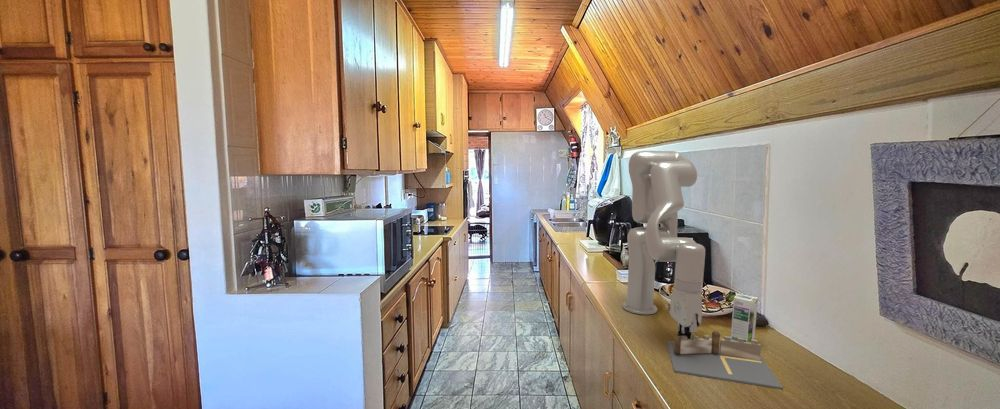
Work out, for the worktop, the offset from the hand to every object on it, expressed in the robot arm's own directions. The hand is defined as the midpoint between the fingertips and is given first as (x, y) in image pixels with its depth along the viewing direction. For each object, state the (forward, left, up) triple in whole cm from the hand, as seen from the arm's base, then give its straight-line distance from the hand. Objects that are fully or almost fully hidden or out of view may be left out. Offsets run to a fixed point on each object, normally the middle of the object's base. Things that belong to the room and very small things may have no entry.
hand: (683, 344), depth 116 cm
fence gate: (+2, +2, -1) cm, 3 cm away
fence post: (0, +14, -2) cm, 14 cm away
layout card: (+5, +8, -2) cm, 10 cm away
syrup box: (-13, +19, -2) cm, 23 cm away
